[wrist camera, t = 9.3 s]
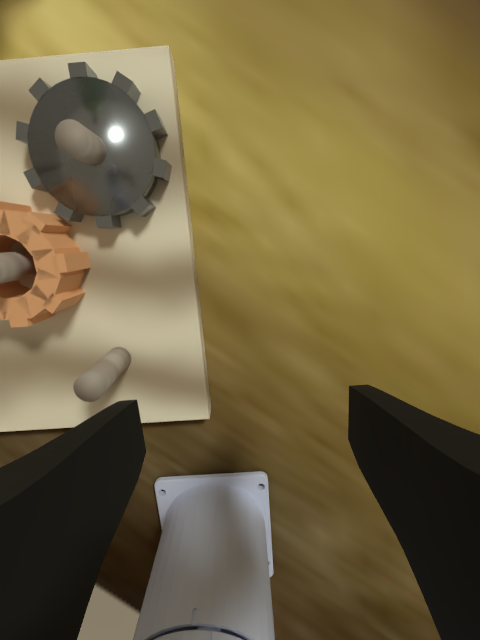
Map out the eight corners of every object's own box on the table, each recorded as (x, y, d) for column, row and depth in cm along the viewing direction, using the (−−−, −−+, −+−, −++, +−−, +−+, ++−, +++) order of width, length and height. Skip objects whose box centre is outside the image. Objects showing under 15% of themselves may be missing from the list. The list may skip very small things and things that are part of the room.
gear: (178, 223, 17) (174, 222, 16) (51, 233, 17) (36, 232, 16) (160, 69, 15) (153, 55, 14) (18, 82, 15) (-1, 69, 14)
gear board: (211, 408, 21) (201, 462, 16) (-50, 425, 21) (-140, 482, 16) (173, 59, 16) (142, -24, 11) (-168, 89, 16) (-351, 22, 11)
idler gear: (99, 312, 18) (78, 322, 16) (-3, 319, 18) (-38, 330, 16) (78, 202, 16) (51, 196, 14) (-33, 211, 17) (-77, 206, 14)
